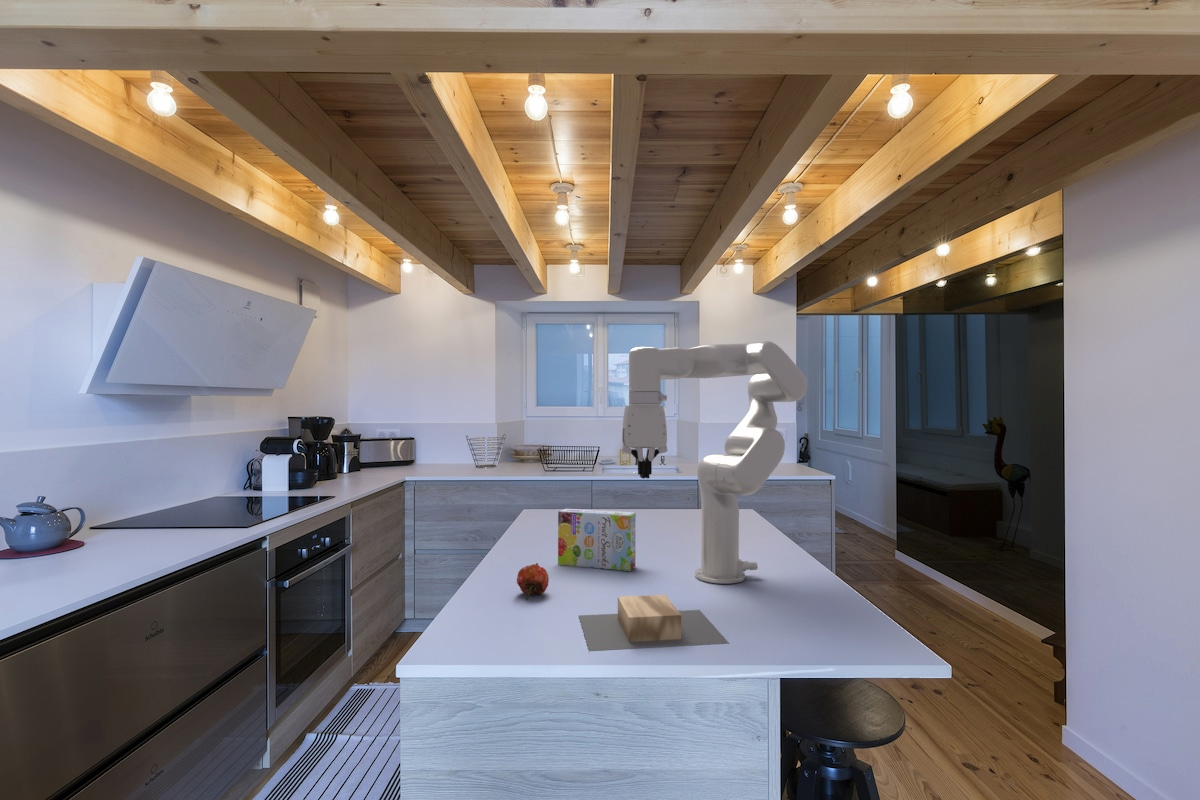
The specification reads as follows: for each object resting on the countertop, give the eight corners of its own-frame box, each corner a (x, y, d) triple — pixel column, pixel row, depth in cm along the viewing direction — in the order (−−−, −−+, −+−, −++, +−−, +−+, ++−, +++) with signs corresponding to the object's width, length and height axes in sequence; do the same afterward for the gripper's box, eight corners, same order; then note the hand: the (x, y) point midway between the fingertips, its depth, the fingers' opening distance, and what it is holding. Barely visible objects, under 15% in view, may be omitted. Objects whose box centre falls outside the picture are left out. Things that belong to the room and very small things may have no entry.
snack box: (636, 567, 163) (636, 511, 163) (630, 572, 157) (630, 515, 158) (564, 560, 170) (564, 507, 170) (556, 565, 164) (556, 510, 165)
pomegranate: (545, 609, 135) (558, 573, 143) (534, 589, 131) (548, 553, 139) (517, 608, 138) (531, 573, 145) (505, 589, 134) (520, 553, 142)
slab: (665, 594, 123) (617, 596, 122) (681, 615, 111) (628, 617, 110) (665, 616, 123) (617, 618, 122) (681, 639, 111) (628, 641, 110)
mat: (699, 611, 127) (699, 609, 127) (729, 645, 110) (729, 643, 110) (578, 617, 124) (578, 615, 124) (589, 653, 106) (589, 650, 106)
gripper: (671, 400, 145) (671, 475, 145) (611, 399, 143) (610, 476, 143) (679, 399, 138) (679, 479, 138) (616, 399, 136) (615, 480, 135)
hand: (644, 477), depth 140 cm, fingers closed
